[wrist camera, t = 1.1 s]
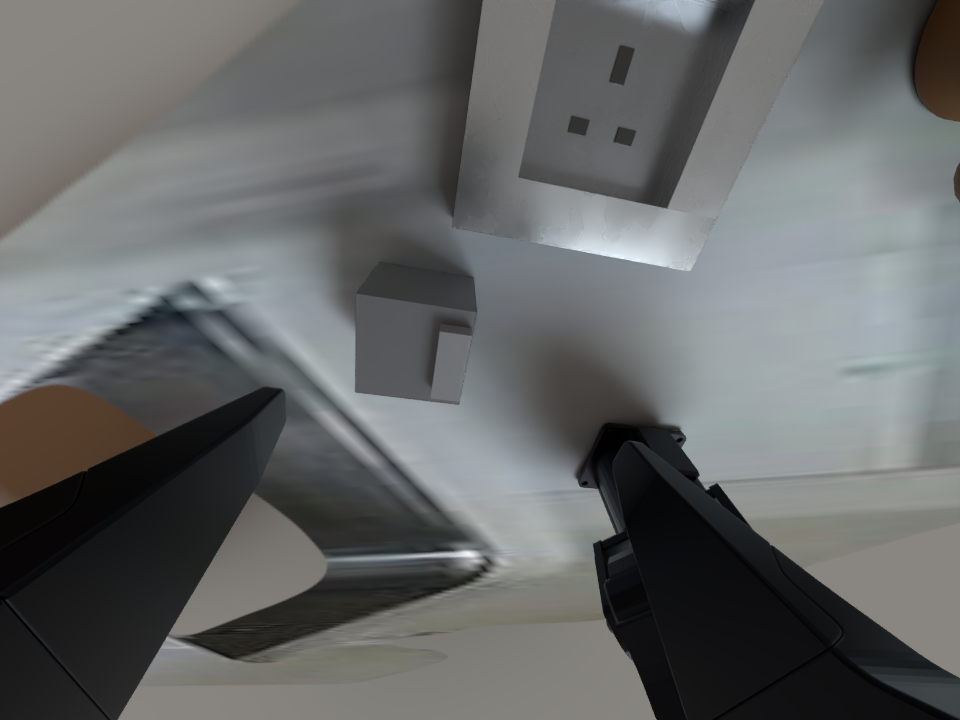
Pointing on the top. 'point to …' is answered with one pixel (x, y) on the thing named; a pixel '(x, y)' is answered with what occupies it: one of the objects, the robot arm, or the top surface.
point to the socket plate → (619, 118)
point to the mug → (941, 66)
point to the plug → (414, 333)
